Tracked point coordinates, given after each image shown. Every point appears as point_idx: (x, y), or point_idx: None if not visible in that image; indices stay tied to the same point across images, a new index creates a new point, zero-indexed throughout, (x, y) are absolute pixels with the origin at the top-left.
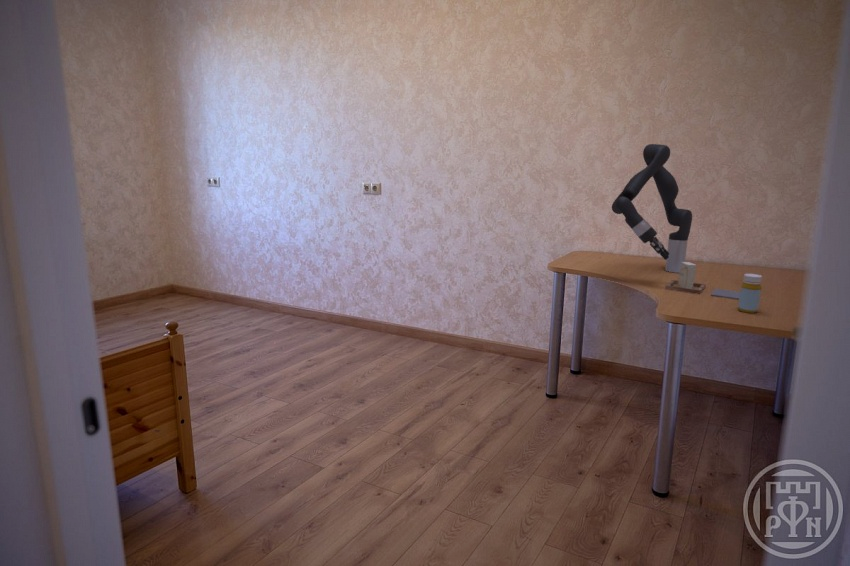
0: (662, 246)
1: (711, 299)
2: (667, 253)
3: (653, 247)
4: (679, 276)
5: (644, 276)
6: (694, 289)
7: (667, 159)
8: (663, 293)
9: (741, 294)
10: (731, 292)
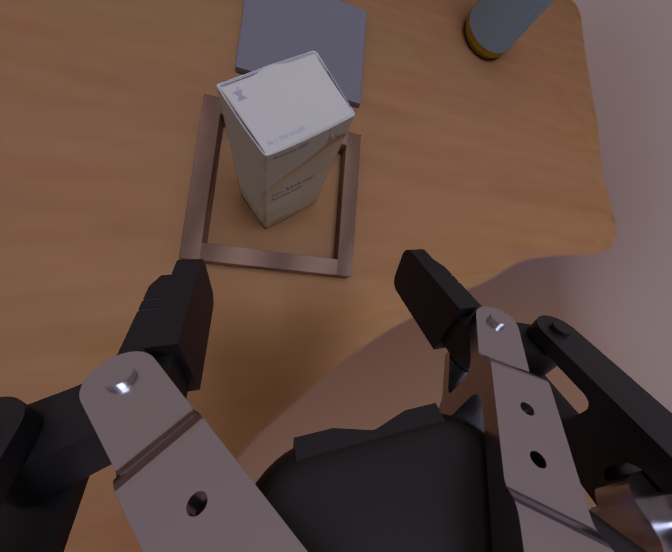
0: (182, 398)
1: (410, 114)
2: (203, 283)
3: (621, 469)
4: (269, 207)
5: None
6: (351, 156)
7: None
8: None
9: (548, 3)
10: (279, 17)
